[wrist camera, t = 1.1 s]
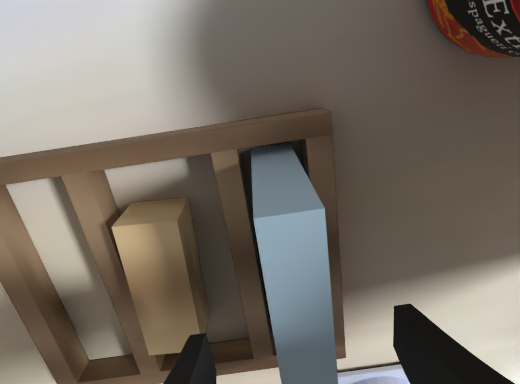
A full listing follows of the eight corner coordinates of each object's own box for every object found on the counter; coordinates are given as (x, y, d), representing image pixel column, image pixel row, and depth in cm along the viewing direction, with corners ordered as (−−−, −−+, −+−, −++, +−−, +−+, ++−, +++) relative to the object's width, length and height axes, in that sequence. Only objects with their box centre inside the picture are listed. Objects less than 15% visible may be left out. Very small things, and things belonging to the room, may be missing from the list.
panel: (309, 322, 21) (344, 466, 13) (279, 326, 21) (297, 472, 13) (289, 142, 16) (324, 208, 9) (250, 148, 16) (253, 218, 9)
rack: (338, 337, 21) (345, 357, 20) (76, 373, 21) (64, 396, 20) (323, 108, 16) (331, 112, 14) (-31, 162, 16) (-60, 172, 14)
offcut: (209, 311, 20) (203, 350, 17) (162, 315, 20) (149, 355, 17) (188, 195, 17) (177, 220, 14) (133, 200, 17) (111, 226, 14)
